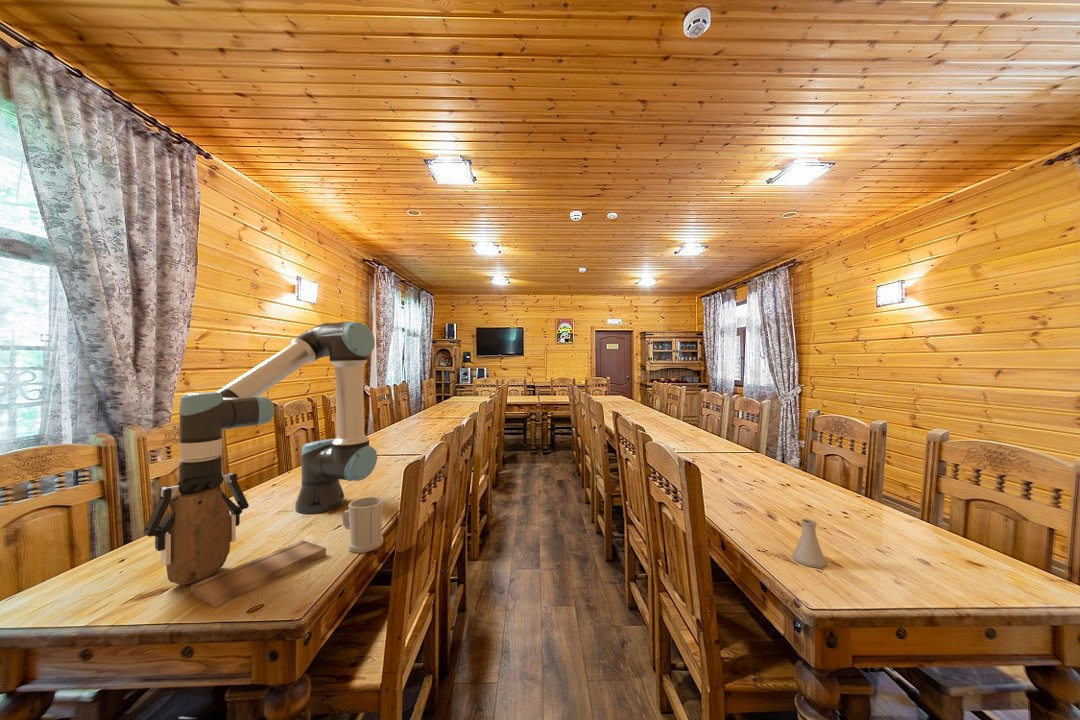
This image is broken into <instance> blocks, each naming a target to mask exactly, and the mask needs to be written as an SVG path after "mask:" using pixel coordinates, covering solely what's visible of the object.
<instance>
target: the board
mask: <svg viewBox="0 0 1080 720" xmlns="http://www.w3.org/2000/svg"><path fill="white" fill-rule="evenodd" d="M326 552H327V548H326V547H325V546H321V545H318V544H315V543H312V542H309V541H308V540H300V541H297V542H294V543H292V544H290V545H288V546H285V547H283V548H280V549H278V550H275V551H272V552H269V553H268V554H265V555H262V556H261V557H258V558H255V559H253V560H250V561H248V562H245V563H242V564H240V565H237V566H235V567H233V568H231V569H228V570H225V571H223V572H220V573H218V574H216V575H213V576H209V577H207V578H206V579H203V580H200V581H197V582H196V583H195V582H194V583H192V584H191V585H190V595H191V596H193V597H194V598H196V599H199V600H200V601H201V602H204V603H205V604H207V605H209V606H211V607H213V608H216V607H218V606H221V605H223V604H225V603H228V602H229V601H231V600H233V599H235V598H238V597H240V596H242V595H244V594H247V593H248V592H251V591H253V590H255V589H257V588H260V587H261V586H264V585H266V584H268V583H270V582H272V581H274V580H276V579H279V578H281V577H283V576H285V575H287V574H290V573H292V572H293V571H296V570H298V569H300V568H302V567H305V566H307V565H309V564H311V563H313V562H315V561H317V560H320V559H322V558H324V557H326V556H327V553H326Z"/></svg>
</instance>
